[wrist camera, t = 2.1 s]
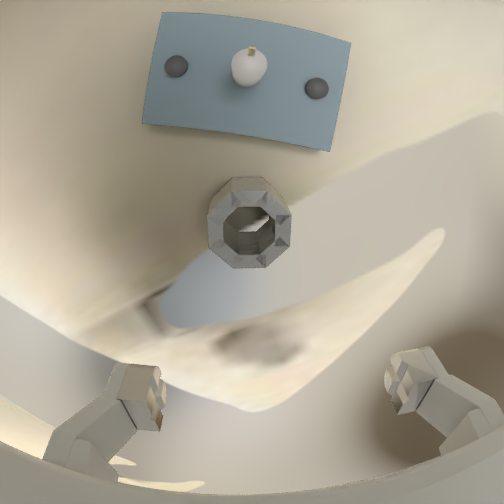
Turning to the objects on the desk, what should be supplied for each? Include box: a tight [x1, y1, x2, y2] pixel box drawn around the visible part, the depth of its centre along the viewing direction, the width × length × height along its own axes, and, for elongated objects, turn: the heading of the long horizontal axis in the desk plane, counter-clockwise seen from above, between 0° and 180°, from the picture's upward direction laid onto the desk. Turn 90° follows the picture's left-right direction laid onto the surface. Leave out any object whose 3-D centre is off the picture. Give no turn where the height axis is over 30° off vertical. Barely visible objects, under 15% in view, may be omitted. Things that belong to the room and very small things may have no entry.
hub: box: [207, 177, 291, 268], centre depth 23 cm, size 6×6×4 cm
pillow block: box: [142, 12, 351, 152], centre depth 17 cm, size 14×9×7 cm, turn 80°
